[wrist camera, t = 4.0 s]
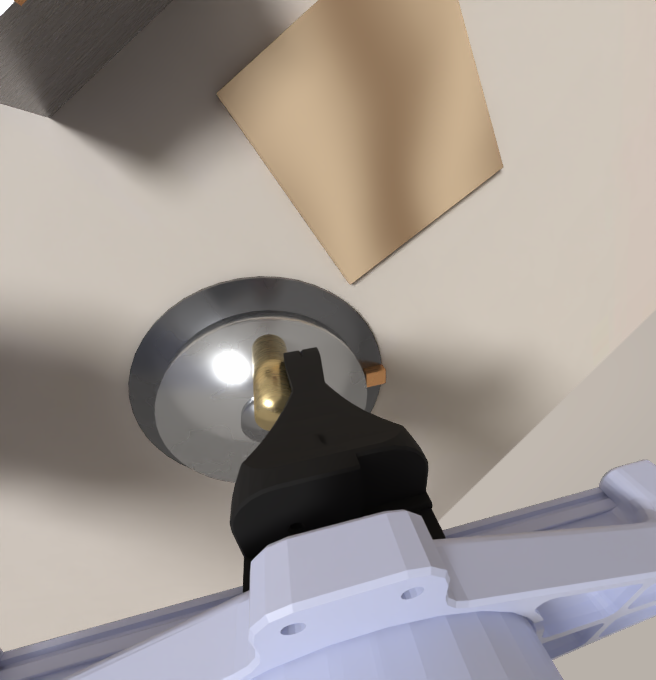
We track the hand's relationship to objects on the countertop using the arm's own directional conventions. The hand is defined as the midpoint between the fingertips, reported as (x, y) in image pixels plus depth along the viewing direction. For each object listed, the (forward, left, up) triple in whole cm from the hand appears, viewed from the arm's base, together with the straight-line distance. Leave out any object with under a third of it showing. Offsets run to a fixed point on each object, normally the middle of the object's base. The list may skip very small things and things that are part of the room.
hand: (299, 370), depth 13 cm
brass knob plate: (-3, -2, -4) cm, 6 cm away
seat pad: (+9, +5, -4) cm, 10 cm away
